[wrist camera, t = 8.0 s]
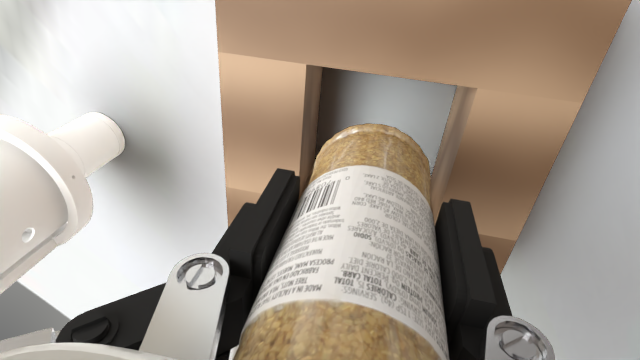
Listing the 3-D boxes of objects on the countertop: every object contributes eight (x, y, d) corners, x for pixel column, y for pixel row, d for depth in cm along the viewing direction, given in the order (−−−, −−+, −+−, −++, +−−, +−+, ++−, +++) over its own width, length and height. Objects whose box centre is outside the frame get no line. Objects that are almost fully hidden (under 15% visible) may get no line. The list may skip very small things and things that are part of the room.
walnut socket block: (477, 244, 22) (490, 295, 19) (253, 202, 24) (229, 242, 21) (585, -19, 15) (636, -11, 12) (251, -53, 17) (212, -55, 13)
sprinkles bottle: (352, 233, 16) (233, 843, 5) (293, 150, 15) (-59, 762, 4) (452, 194, 15) (615, 1035, 3) (397, 94, 13) (337, 1028, 2)
